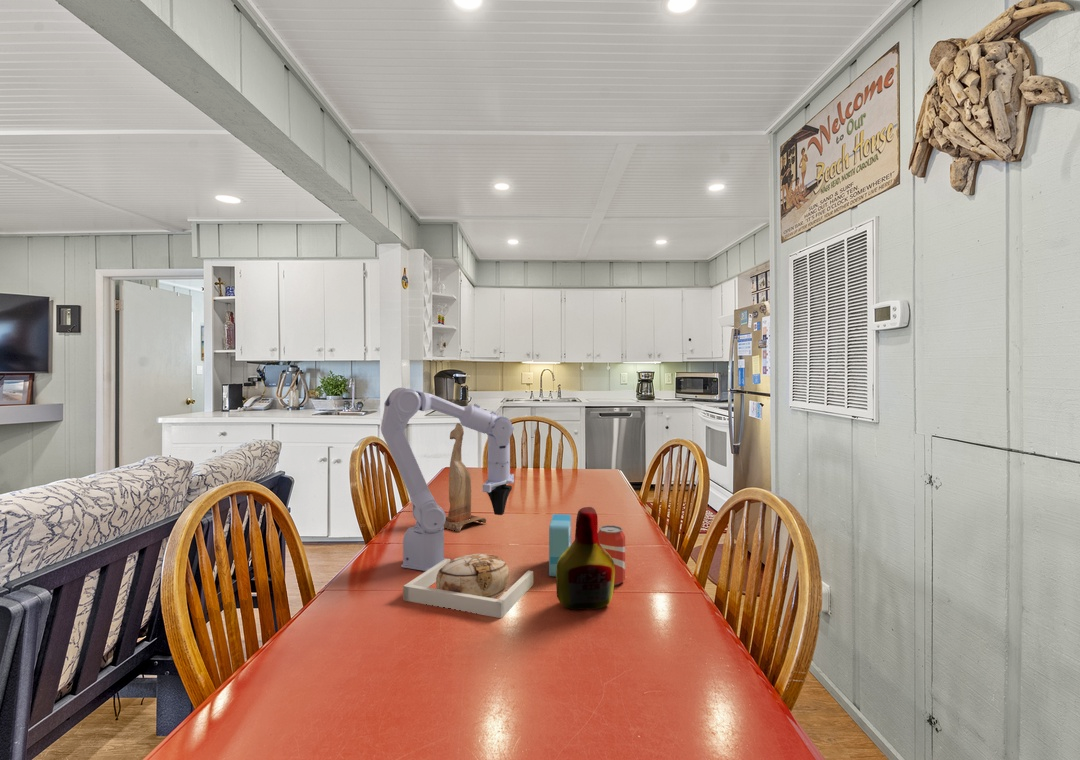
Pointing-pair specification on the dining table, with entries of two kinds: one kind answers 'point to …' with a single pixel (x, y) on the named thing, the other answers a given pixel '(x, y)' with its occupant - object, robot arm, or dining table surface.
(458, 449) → the bird sculpture
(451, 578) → the trinket box
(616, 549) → the beverage can
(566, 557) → the bottle
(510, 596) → the display bay
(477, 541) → the dining table surface
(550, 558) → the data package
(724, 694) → the dining table surface
